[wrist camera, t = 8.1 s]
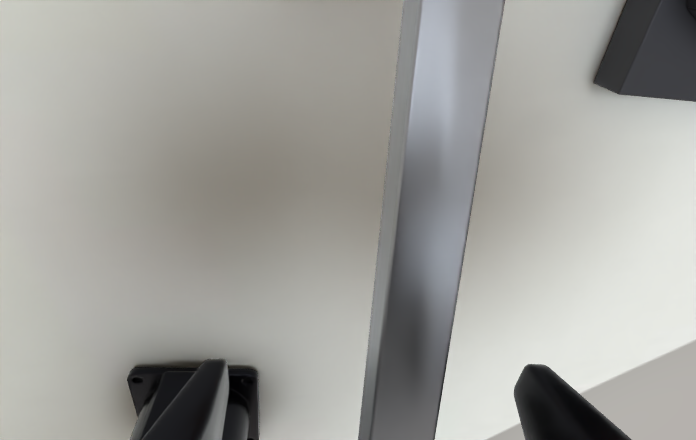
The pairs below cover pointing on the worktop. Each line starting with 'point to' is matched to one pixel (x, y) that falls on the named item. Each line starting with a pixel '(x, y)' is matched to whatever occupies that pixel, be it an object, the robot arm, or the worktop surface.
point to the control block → (653, 51)
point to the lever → (426, 209)
